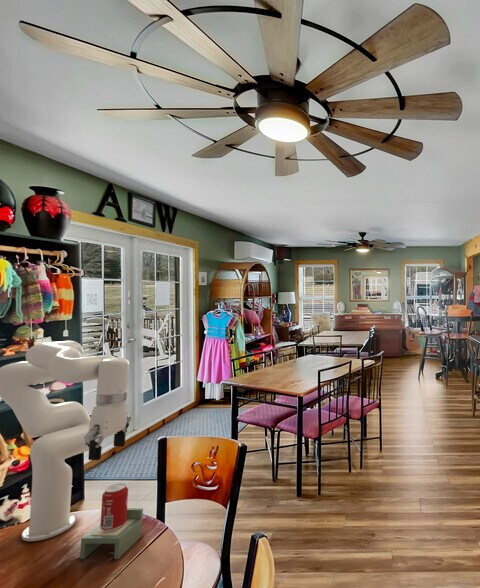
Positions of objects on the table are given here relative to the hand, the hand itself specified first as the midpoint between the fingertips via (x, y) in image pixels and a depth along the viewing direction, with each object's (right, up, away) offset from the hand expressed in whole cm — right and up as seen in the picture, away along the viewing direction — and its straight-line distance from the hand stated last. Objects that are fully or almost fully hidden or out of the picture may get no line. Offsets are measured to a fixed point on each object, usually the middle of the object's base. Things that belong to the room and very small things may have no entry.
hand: (107, 452), depth 107 cm
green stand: (+3, -29, -2) cm, 29 cm away
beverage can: (+3, -23, -1) cm, 23 cm away
